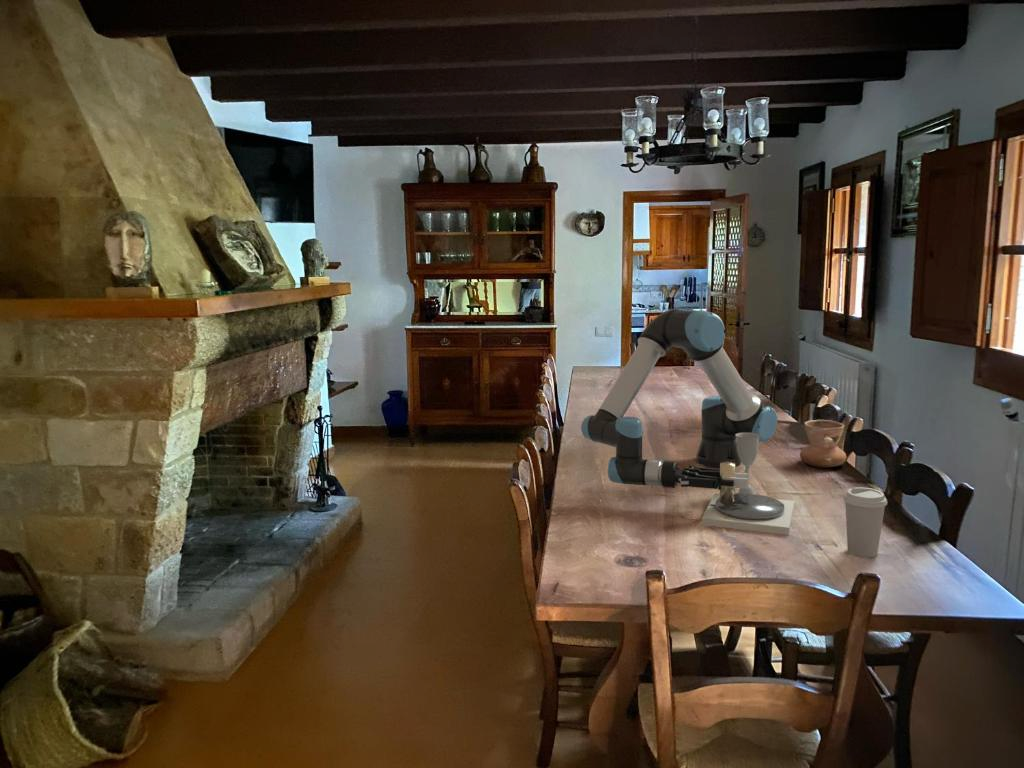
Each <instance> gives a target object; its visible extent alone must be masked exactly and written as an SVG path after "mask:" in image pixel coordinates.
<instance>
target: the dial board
mask: <svg viewBox="0 0 1024 768" xmlns="http://www.w3.org/2000/svg"><path fill="white" fill-rule="evenodd" d="M718 498H720V493H716V492H715V493H714V494H713V496H712V499H710V502H709V504H708V506H707V507H706V510H705V512H704V513H703V516H702V517H701V526H704V527H705V526H707V527H713V526H716V527H715V528H722V527H725V528H724V529H731V528H733V530H740V529H741V531H742V530H743V531H751V532H759V533H760V532H761V533H766V534H767V533H768V534H774V535H775V534H776V535H777V534H778V535H786V536H789V535H790V532H791V526H792V521H793V517H794V511H795V503H796V502H795V500H788V499H778V498H775V499H776V500H779V501H780V502H782V503H783V504H784V513H783V514H782V515H781V516H779V517H776V518H772V519H764V520H750V519H741V518H735V517H731V516H728V515H725V514H723V513H721V512H719V511H718V510H717V509H716V500H717V499H718Z"/></svg>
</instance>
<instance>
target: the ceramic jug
mask: <svg viewBox="0 0 1024 768" xmlns="http://www.w3.org/2000/svg"><path fill="white" fill-rule="evenodd" d="M844 428H845V424H843V423H841V422H839V421H834V420H831V419H830V420H827V419H815V420H814V419H810V420H808V421H805V422H804V429H805V433H806V434H805V435H806V436H807V440H808V442H809V444H808V445H807V446H805V447H803V448H802V450H800V453H799V456H800V457H799V458H800V459H801V461H802V462H804V463H805V464H807V465H808V466H811V467H815V468H825V469H828V468H829V469H830V468H834V467H839V466H842V465H843V464H844V463H845V462H846V460H847V453H846V452H845V451H844V450H843V449H841V448H839V446H838V443H839V442H840V439H841V438H842V435H843V432H844V430H845V429H844Z"/></svg>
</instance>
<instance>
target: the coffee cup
mask: <svg viewBox="0 0 1024 768" xmlns="http://www.w3.org/2000/svg"><path fill="white" fill-rule="evenodd" d="M842 500H843V502H844V503H845V521H846V522H845V523H846V540H847V541H846V542H847V543H846V545H847V552H848V553H849V554H850V555H852V556H855V557H858V558H859V557H860V558H867V559H870V558H875V557H877V556H878V554H879V553H878V552H879V546H880V545H879V544H880V540H881V534H882V525H883V522H884V521H883V519H884V515H885V508H886V506H887V505H888V499H887V498H886V496H885V494H884V492H883V491H881V490H879V489H875V488H870V487H862V486H861V487H850V488H848V489H847V490H846V493H845V494H844V495H843V497H842Z"/></svg>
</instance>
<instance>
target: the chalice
mask: <svg viewBox="0 0 1024 768" xmlns="http://www.w3.org/2000/svg"><path fill="white" fill-rule="evenodd" d="M736 437H737V438H736V440H737V453H738V456H739V458H740V460H741V464H742V465H743V466H745V467H744V468H745V469H744V472H743V473H747V474H749V475H750V473H751V471H750V469H749V467H750V466H752V465H753V464H754V462H755V460H756V458H757V455H758V453H759V443H760V442H759V438H760V434H757V433H748V432H745V433H737V434H736ZM750 478H751V477H750V476H749V480H750ZM738 489H739V490H738V491H737V494H756V492H755V489H754V486H752V485H750V483H749V484H747V489H742V488H738Z"/></svg>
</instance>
